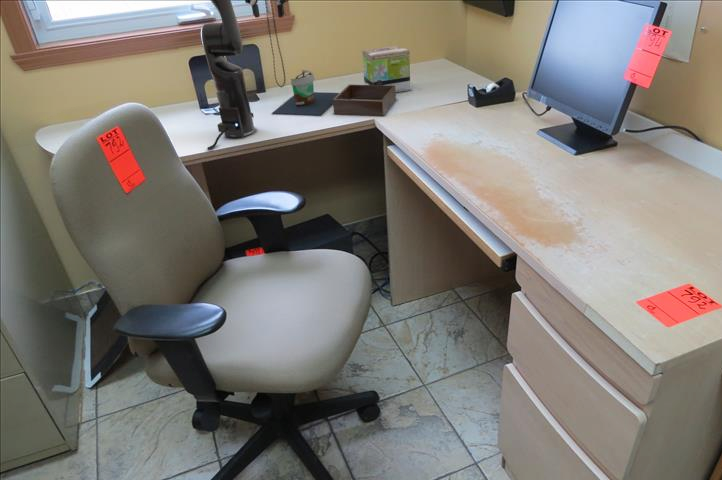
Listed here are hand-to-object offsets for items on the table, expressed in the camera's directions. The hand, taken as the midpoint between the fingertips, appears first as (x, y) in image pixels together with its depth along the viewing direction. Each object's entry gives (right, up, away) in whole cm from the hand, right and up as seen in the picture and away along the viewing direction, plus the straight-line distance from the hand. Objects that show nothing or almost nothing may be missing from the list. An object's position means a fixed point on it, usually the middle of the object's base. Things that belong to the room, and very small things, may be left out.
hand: (269, 17), depth 183 cm
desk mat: (+10, -23, +18) cm, 31 cm away
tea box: (+39, -16, +27) cm, 50 cm away
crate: (+31, -26, +13) cm, 42 cm away
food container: (+10, -23, +18) cm, 31 cm away
